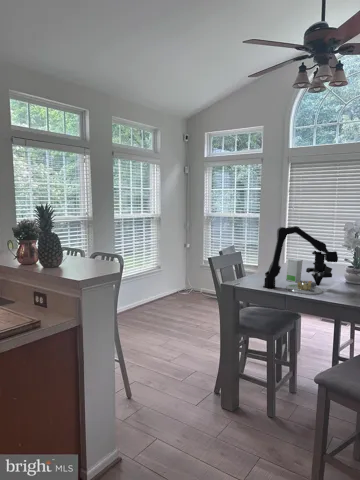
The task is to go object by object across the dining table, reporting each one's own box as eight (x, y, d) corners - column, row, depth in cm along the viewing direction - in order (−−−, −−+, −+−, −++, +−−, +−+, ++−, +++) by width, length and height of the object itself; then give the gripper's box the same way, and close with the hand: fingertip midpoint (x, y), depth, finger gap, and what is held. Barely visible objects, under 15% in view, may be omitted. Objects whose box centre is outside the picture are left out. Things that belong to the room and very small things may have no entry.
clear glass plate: (305, 295, 210) (305, 288, 209) (278, 287, 229) (278, 281, 228) (330, 292, 220) (330, 285, 220) (302, 284, 239) (303, 278, 239)
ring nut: (305, 290, 219) (305, 284, 219) (294, 287, 226) (295, 281, 225) (320, 287, 227) (320, 281, 227) (309, 284, 234) (310, 279, 233)
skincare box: (285, 280, 252) (286, 258, 250) (291, 279, 256) (292, 258, 254) (296, 282, 245) (297, 260, 244) (301, 281, 249) (302, 259, 248)
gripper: (340, 263, 216) (338, 288, 218) (321, 259, 234) (319, 282, 236) (324, 264, 214) (323, 289, 215) (306, 259, 232) (305, 282, 233)
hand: (317, 285), depth 225 cm, fingers closed
